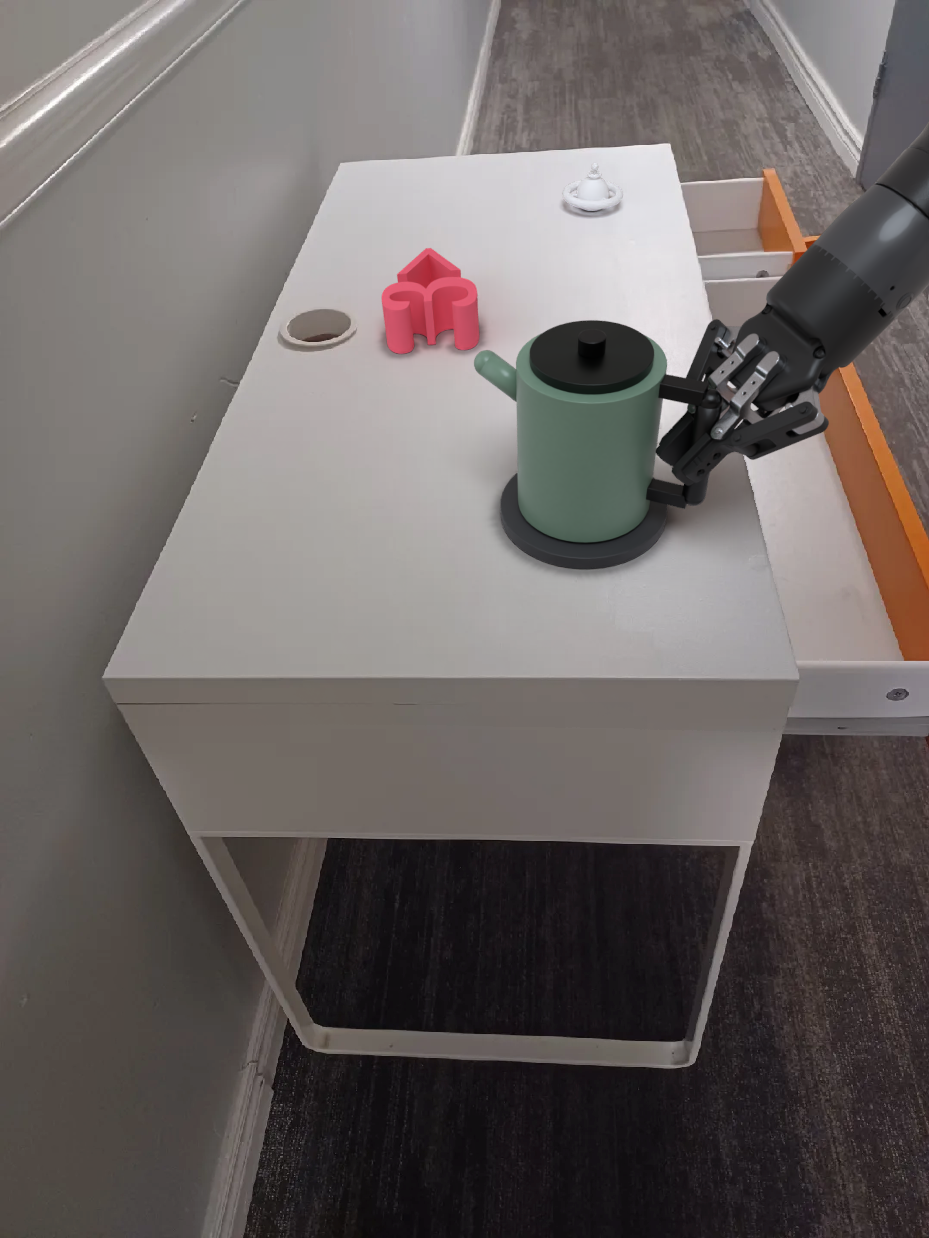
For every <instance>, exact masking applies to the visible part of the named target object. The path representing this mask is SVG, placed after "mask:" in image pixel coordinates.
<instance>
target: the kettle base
mask: <svg viewBox="0 0 929 1238" xmlns="http://www.w3.org/2000/svg"><path fill="white" fill-rule="evenodd" d="M653 478H654V479H656V478H655V477H654V476H653ZM668 506H669V505H666V504H662V503H658V502H654V501H650V505H649V510H648V512H647V514H646V516H645V518H644V519H643V520H642V522H641V523H640V524H639V525H638V526H636V527H635V528H634V529H633V530H631V531H629V532H628V533H626V534H624V535H622V536H619V537H616V538H613V539H610V540H605V541H599V542H587V543H584V542H571V541H565V540H561V539H557V538H554V537H551V536H549V535H547V534H544V533H542V532H541V531H539V530H537V529H536V528H535V527H533V526H532V525H531V524H530V523H529V522H528V521H527V520H526V519H525V518H524V516H523V515H522V513H521V511H520V508H519V505H518V471H517V472H516V473H515V474H514V475H513V476H512V477H511V478H509V481H508V482H506V484H505V486H504V489H503V491H502V493H501V497H500V506H499V507H500V521H501V524H502V528H503V530H504V532H505V533H506V535H507V536H508V538H509V540H510V541H511V542H512V543H513V544H514V546H516V547H517V548H519V550H521V551H522V552H524V553H525V554H526V555H529V556H531V557H532V558H534V559H536V560H539V561H541V562H543V563H546V564H550V565H553V566H556V567H561V568H568V569H577V570H593V569H605V568H611V567H614V566H617V565H621V564H625V563H627V562H629V561H632V560H634V559H636V558H638V557H639V556H641V555H643V554H645V553H646V552H648V550H650V549H652V547H653V546H654V545H655V544H656V543H657V542H658V540H659V539H660V538H661V536H662V534H663V532H664V530H665V527H666V523H667V517H668Z"/></svg>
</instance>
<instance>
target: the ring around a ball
mask: <svg viewBox="0 0 929 1238" xmlns="http://www.w3.org/2000/svg"><path fill="white" fill-rule="evenodd" d="M599 167H600V166H599V164H598V163H597V162H593V163H592V164H591V166H590V168H591V170H588V171H587V172H586V177H585V178H583V179H580V180H576V181H572V182H570V183H568V184H567V185H566V186H565V187H563V189H562V192H561V196H562V198H563V200H564V201H565V203H567V204H568V205H570V206H571V207H572V206H573V207H575V208H578V209H582V210H585V211H588V212H596V211H597V212H598V211H600V210H604V209H609V208H611V207H612V208H613V207H615V206H617V205H618V204H619V203H620V202H621V201H622V200H623V198H624V192H623V189H622V188H621V186H620V185H618V184H616V183H615V182H612V181H609V180H606V179H605V180H604V179H603V178H602V176H603V173H602V172H601V171H599V170H598V169H599ZM575 191H576V192H575ZM573 192H575V193H573ZM610 193H613V194H614V195H613V196H611V197H610Z"/></svg>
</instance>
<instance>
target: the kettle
mask: <svg viewBox="0 0 929 1238" xmlns="http://www.w3.org/2000/svg"><path fill="white" fill-rule="evenodd" d="M473 367H474V370H475V371H476V373H477V374H478V375H480V376H481V377H482V378H483V379H485V380H486V381H488V382H489V383H490V384H491V385H493V386H494V387H495V388H497V389H498V390H499V391H501V392H502V393H503V394H505V396H507V397H509V398H510V400H513V401H514V402H516V453H517V454H516V455H517V456H516V458H517V460H516V462H517V472H518V505H519V508H520V511H521V513H522V515H523V516H524V518H525V519H526V520H527V521H528V522H529V523H530V524H531V525H532V526H533V527H535V528H536V529H537V530H539V531H541V532H542V533H544V534H547V535H549V536H551V537H554V538H557V539H561V540H565V541H571V542H584V543H587V542H599V541H605V540H610V539H613V538H616V537H619V536H622V535H624V534H626V533H628V532H629V531H631V530H633V529H634V528H635V527H636V526H638V525H639V524H640V523H641V522H642V520H643V519H644V518H645V516H646V514H647V512H648V510H649V505H650V501H654V502H658V503H662V504H666V505H668V506H671V507H673V508H674V507H675V508H678V509H682V510H686V508H687V506H691V507H697V506H700V505H701V504H702V503H703V502H704V501H705V498H706V496H707V489H708V484H709V480H710V476H711V475H710V474H711V472H710V473H708V475H707V476H706V477H705V478H704V479H703V480H701V481H699V482H697V483H695V482H694V483H693V484H692V485H686V484H684V483H683V484H679V483H675V482H670V481H666V480H662V479H658V478H655V477H654V473H655V464H656V457H657V454H656V449H657V447H658V443H659V435H660V434H659V433H660V426H661V418H662V409H663V403H664V400H667V401H673V402H677V403H682V404H687V405H688V404H691V405H696V409H695V415H694V421H693V428H692V434H691V440H690V446H689V449H690V448H691V447H692V446H693V445H694V444H695V443H696V442H697V441H698V440H699V439H700V438H701V437H702V436H703V435H704V434H705V433H707V434H708V435H709V436H711V430H712V428H713V427H714V426H715V424H716V423H717V422H718V421H719V420H720V415H721V410H722V404H723V398H722V395H721V394H720V393H719V392H718V391H717V390H715V389H708V388H709V383H708V382H703V380H702V381H698V380H693V379H688V378H686V377H683V376H678V375H677V376H676V375H672V374H667V369H668V358H667V356H666V353H665V352H664V350H663V348H662V347H661V346H660V345H659V344H658V343H657V342H656V341H655V340H654V339H652V338H651V337H649V336H648V335H645V334H643V333H642V332H640V331H639V330H637V329H635V328H633V327H630V326H628V325H626V324H622V323H619V322H614V321H608V320H598V319H597V320H596V319H588V320H575V321H570V322H565V323H562V324H558V325H556V326H553V327H551V328H549V329H546V330H545V331H543V332H542V333H539V334H537V335H536V336H534V337H532V338H531V339H530V340H528V341H527V342H526V343H525V344H524V345H523V346H522V347H521V348H520V350H519V352H518V353H517V357H516V361H515V367H514V366H512V365H511V364H510V363H509V362H508V361H506V360H505V359H503V358H502V357H501V356H500V355H498V354H497V353H495V352H494V351H493V350H489V349H484V350H481V351H480V352H478V353H477V354H476V356H475V357H474V360H473ZM653 477H654V478H655V479H654V478H653Z"/></svg>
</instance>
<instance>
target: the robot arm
mask: <svg viewBox="0 0 929 1238" xmlns="http://www.w3.org/2000/svg"><path fill="white" fill-rule="evenodd" d="M928 287H929V121H928V122H927V123H926V124H925V127H924V128H923V129H922V131H921V132H920V133H919V134H918V136H917V137H916V138H915V139H914V140H913V141H912V142H911V143H909V145H908V146H907V147H906V148H905V149H904V150H903V151H902V152H901V154H899V155H898V156H897V158H896V159H895V160H894V161H893V162H892V163H891V164H890V165H889V166H888V167H887V169H885V171H884V172H883V173H882V174H881V175H880V176H879V177H878V178H877V179H876V180H875V181H874V182H873V184H872V185H871V186H870V187H868V188H867V189H866V191H864V193H862V194H861V195H860V196H859V197H858V198H857V199H855V200H854V201H853V202H852V203H851V204H849V206H848V205H847V207H846V208H845V209H843V211H842V212H840V214H839V215H838V216H836V218H835V219H834V220H833V221H832V222H831V224H829V226H828V227H827V228H826V229H825V230H824V231H823V232H822V233H821V234H820V235H819V237H817V238H816V240H815V241H814V242H813V243H811V245H810V246H809V247H807V249H806V250H805V251H804V253H803V254H802V255H800V257H799V258H798V259H797V260H796V261H795V262H794V263H793V264H792V265H791V267H790V268H789V269H788V270H787V271H786V272H785V273H784V274H783V275H782V276H781V277H780V278H779V280H778V281H776V283H774V285H772V287H771V288H770V289H769V290H768V292H767V293H766V296H765V297H766V298H765V300H766V303H765V306H764V308H763V309H762V310H761V311H760V312H758V313H757V314H756V315H753V316H752V317H750V318H748V319H747V320H745V321H744V322H743V323H742V325H726V324H725V323H724V322H722V321H721V320H720V319H718V318H716V319H713V320H711V321H710V322H709V323H708V324H707V327H706V329H705V331H704V333H703V336H702V338H701V341H700V343H699V345H698V348H697V350H696V351H695V352H696V353H695V355H694V357H693V360H692V362H691V364H690V367H689V368H688V372H687V374H686V375H685V378H688V379H693V380H698V381H703V382H708V383H709V388H708V389H715V390H717V391H718V392H719V393H720V394H721V395H722V398H723V404H722V410H721V415H720V420H719V421H718V422H717V423H716V424H715V426H714V427H713V428H712V430H711V436H709V435H708V434H707V433H705V434H704V435H703V436H702V437H701V438H700V439H699V440H698V441H697V442H696V443H695V444H694V445H693V446H692V447H691V448H690V449H689V446H690V440H691V434H692V428H693V421H694V415H695V409H696V405H691V404H687V407H686V411H685V412H684V414H683V415H682V416H681V417H680V418H679V419H678V420H677V421H676V422H675V423H674V424H673V426H672V427H671V428H670V429H669V430H668V431H667V432H666V433H665V434H664V435H663V436H662V437H661V438H660V441H659V442H658V445H657V449H656V456H658V458H659V459H660V460H661V461H663V462H664V463H665V464H667V465H668V466H670V467H671V470H670V471H671V473H672V474H673V476H674V477H675V478H676V479H677V480H678V481H680V482H681V483H683V484H686V485H692V484H693V483H694V482H695V483H697V482H699V481H701V480H703V479H704V478H705V477H706V476H707V475H708V473H710V474H711V472H712V470H714V469H715V468H716V467H717V466H718V465H719V464H720V462H722V461H723V460H724V459H725V458H726V457H727V456H728V455H729V454H731V453H738V454H740V455H743V456H745V457H746V458H748V459H749V460H751V461H754V460H758V459H760V458H762V457H765V456H767V455H770V454H773V453H775V452H778V451H780V450H782V449H785V448H787V447H789V446H792V445H794V444H797V443H799V442H802V441H805V440H806V439H809V438H812V437H815V436H817V435H819V434H822V433H824V432H825V431H826V430H827V429H828V428H829V426H830V422H829V419H828V418H827V417H826V416H825V414H824V413H822V409H821V407H822V406H821V401H820V394H821V393H822V392H823V391H824V389H825V388H826V386H827V383H828V381H829V379H830V377H831V376H832V374H833V373H834V372H835V371H836V370H837V369H839V368H840V369H842V368H847V367H848V366H849V365H851V364H852V363H853V362H854V361H855V360H856V358H858V357H859V356H860V355H861V353H863V351H865V350H866V349H867V347H869V346H870V345H871V344H872V343H873V342H874V341H875V340H876V339H877V338H878V337H879V336H880V335H881V334H882V333H883V332H884V331H885V330H886V329H887V328H888V327H889V326H890V325H891V324H892V323H893V322H894V321H895V320H896V319H897V318H898V317H899V316H900V315H901V314H902V313H903V312H904V311H905V310H907V308H908V307H909V306H910V305H911V304H912V303H913V302H914V301H915V300H916V299H918V297H919V296H920V295H921V294H922V293H923V292H924V291H925V290H926V289H927V288H928ZM728 383H730V384H731V385H733V386H734V387H731V386H730V385H728ZM752 405H753V406H755V407H756V408H757V409H756V410H753V409H752ZM783 408H784V410H782V409H783Z"/></svg>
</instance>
